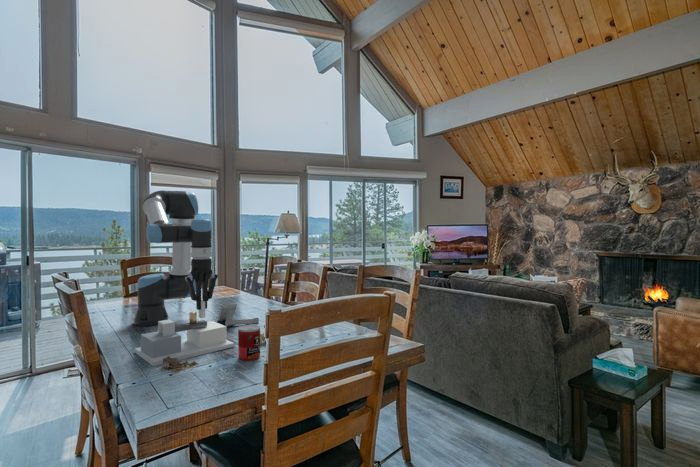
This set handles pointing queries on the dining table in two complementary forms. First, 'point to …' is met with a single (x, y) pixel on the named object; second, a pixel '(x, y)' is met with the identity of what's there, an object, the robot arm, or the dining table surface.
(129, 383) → the dining table surface
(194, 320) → the bolt
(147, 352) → the white stepped platform
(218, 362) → the dining table surface
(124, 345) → the dining table surface
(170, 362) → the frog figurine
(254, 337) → the canned food
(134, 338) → the dining table surface
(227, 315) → the door handle
